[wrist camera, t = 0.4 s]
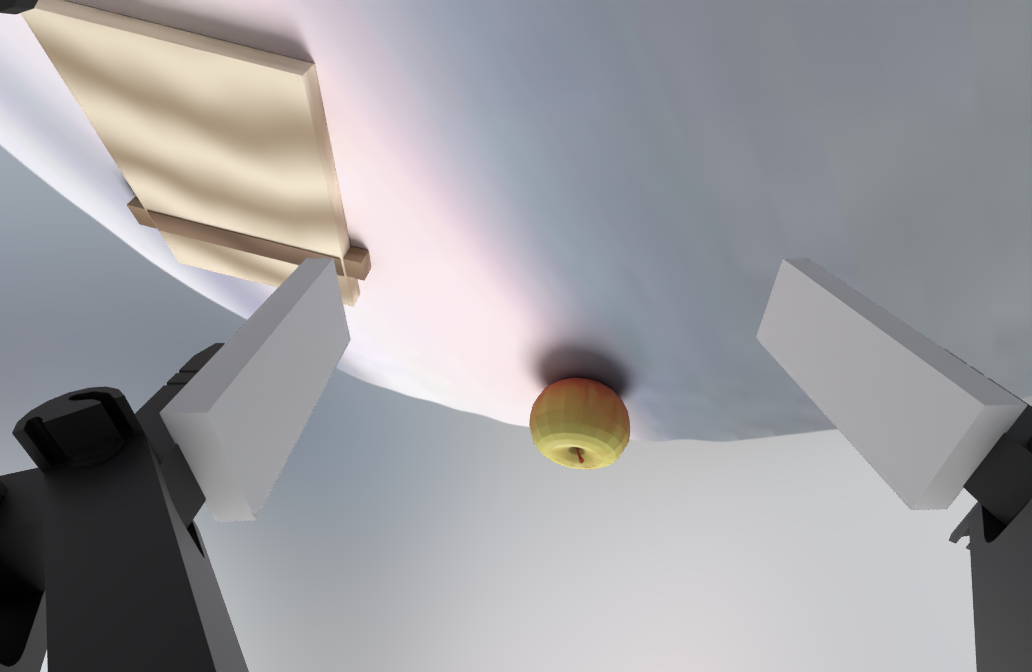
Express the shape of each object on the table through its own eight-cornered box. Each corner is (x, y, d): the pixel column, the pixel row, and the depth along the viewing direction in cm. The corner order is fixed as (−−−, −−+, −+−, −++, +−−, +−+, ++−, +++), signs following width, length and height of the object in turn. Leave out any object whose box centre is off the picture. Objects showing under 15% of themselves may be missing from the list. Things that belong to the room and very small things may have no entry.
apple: (650, 383, 44) (648, 462, 39) (607, 423, 52) (602, 492, 47) (554, 352, 43) (541, 429, 38) (526, 397, 51) (511, 466, 46)
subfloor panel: (10, -13, 26) (-15, -3, 25) (340, 70, 26) (328, 83, 25) (173, 247, 42) (161, 259, 41) (375, 298, 42) (369, 311, 41)
